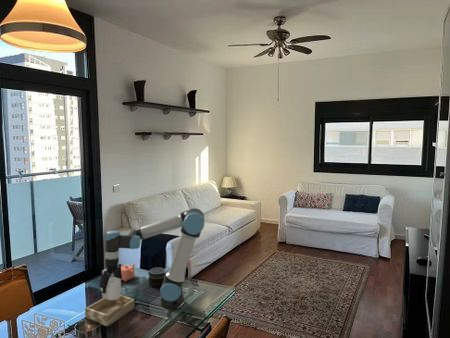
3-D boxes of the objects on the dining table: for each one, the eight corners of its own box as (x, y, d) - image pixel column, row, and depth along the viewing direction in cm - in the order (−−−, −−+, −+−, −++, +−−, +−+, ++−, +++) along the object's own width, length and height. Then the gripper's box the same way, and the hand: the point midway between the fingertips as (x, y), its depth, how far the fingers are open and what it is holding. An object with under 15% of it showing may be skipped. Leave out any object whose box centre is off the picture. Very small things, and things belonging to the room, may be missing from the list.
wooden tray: (134, 308, 197) (134, 299, 197) (107, 326, 177) (108, 316, 177) (112, 301, 204) (113, 292, 204) (85, 318, 184) (85, 308, 184)
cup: (115, 301, 184) (116, 284, 184) (96, 298, 186) (97, 281, 186) (122, 294, 193) (123, 278, 192) (104, 292, 195) (104, 275, 194)
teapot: (132, 283, 232) (133, 269, 231) (115, 283, 230) (116, 269, 229) (135, 275, 246) (135, 262, 245) (119, 275, 244) (119, 262, 243)
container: (152, 289, 224) (152, 275, 223) (145, 282, 234) (145, 269, 233) (169, 285, 231) (169, 271, 231) (161, 278, 242) (161, 265, 241)
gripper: (119, 251, 199) (118, 286, 201) (93, 261, 180) (91, 300, 182) (129, 253, 196) (127, 289, 198) (103, 264, 177) (102, 304, 179)
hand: (110, 294), depth 190 cm, fingers closed on cup, 8 cm apart
